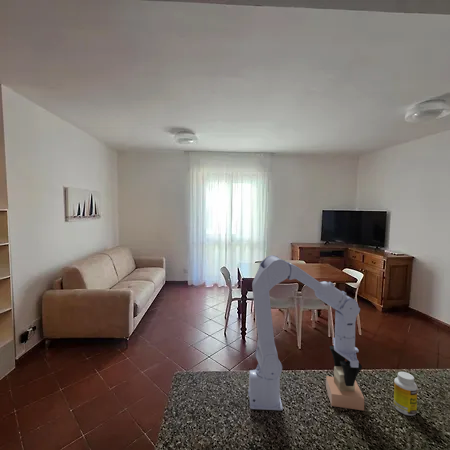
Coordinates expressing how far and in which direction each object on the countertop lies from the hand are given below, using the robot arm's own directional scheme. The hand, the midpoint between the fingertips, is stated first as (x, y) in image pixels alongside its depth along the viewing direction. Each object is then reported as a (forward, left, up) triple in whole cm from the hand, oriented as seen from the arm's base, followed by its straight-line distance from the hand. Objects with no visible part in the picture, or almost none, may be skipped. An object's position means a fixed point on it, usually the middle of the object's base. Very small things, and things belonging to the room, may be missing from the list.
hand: (344, 377), depth 80 cm
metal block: (0, 0, -3) cm, 3 cm away
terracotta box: (0, 0, -7) cm, 7 cm away
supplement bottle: (+16, -4, -7) cm, 18 cm away
